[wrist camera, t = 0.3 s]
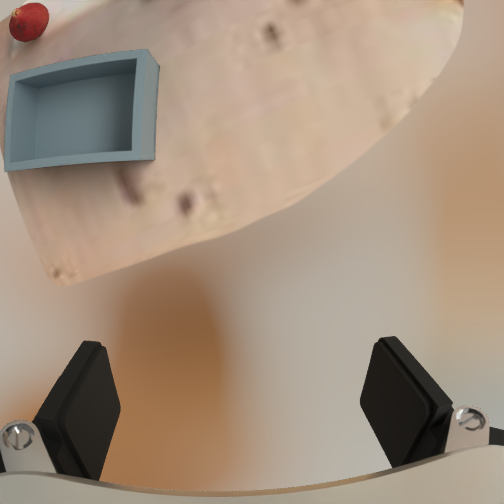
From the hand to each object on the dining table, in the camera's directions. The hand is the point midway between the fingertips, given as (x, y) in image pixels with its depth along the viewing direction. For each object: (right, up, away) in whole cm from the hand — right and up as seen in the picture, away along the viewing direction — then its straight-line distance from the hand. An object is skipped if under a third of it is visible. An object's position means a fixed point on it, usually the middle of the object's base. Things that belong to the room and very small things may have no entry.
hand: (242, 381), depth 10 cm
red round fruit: (-30, +36, +19) cm, 50 cm away
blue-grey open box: (-20, +21, +24) cm, 38 cm away
